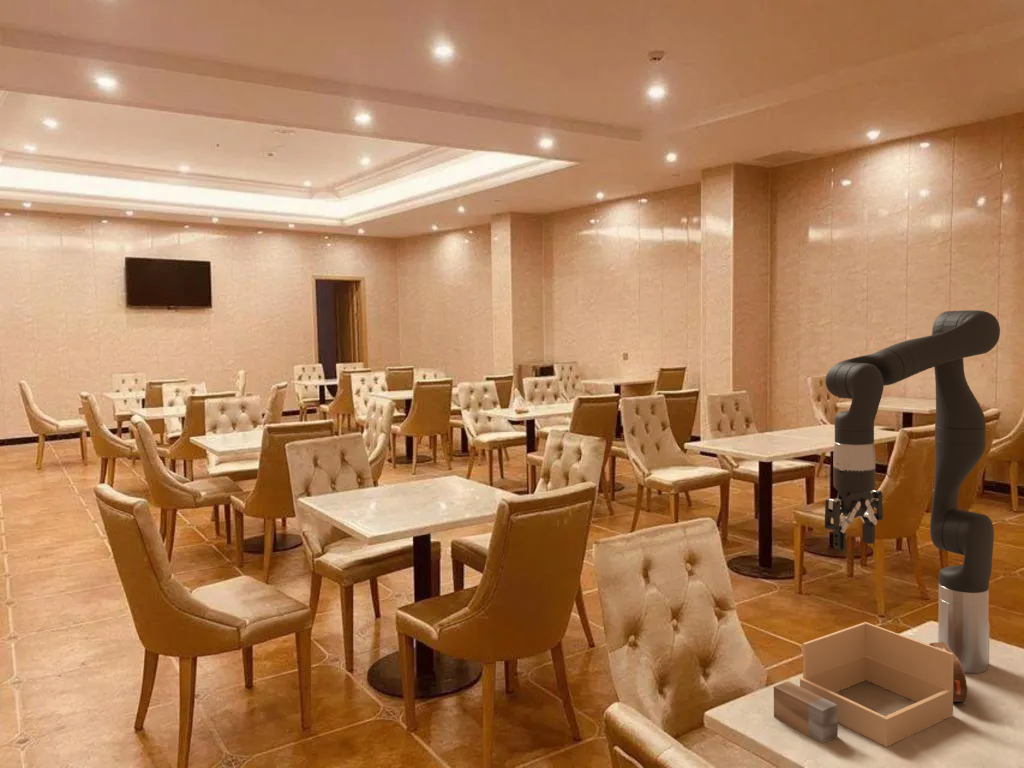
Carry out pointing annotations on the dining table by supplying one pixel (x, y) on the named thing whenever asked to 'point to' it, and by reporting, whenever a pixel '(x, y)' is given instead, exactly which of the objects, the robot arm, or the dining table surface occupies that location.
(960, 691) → the tin
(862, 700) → the dining table surface
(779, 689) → the box
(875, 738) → the carton
